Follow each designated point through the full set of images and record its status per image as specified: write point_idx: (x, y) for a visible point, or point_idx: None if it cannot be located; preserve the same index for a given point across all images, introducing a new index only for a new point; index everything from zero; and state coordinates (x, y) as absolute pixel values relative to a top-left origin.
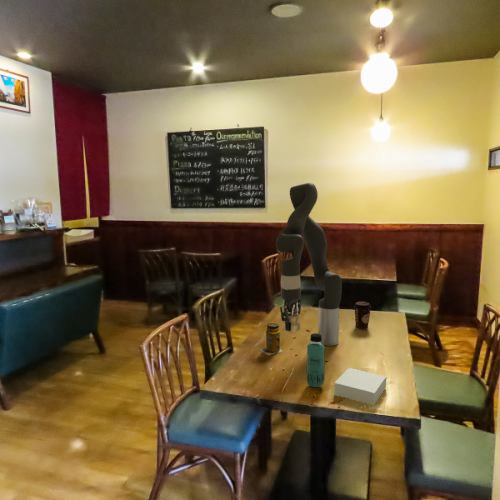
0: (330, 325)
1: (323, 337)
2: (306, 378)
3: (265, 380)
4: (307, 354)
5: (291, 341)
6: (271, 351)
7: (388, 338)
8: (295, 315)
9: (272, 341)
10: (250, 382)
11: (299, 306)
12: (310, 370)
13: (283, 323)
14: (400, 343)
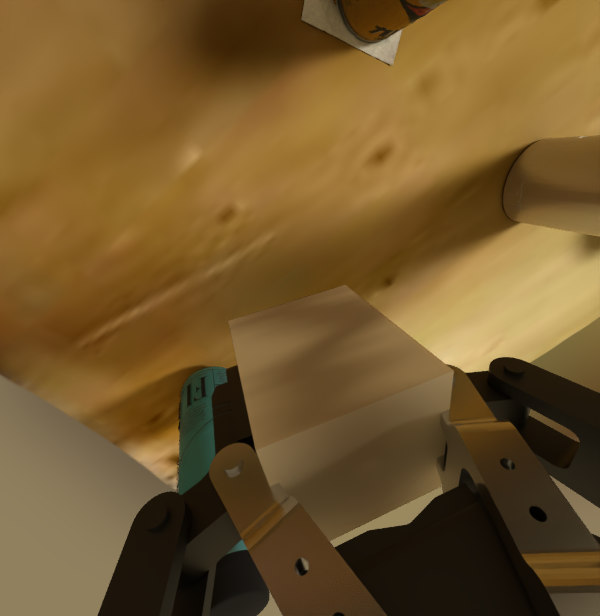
0: (598, 224)
1: (535, 187)
2: (195, 377)
3: (74, 229)
4: (185, 480)
5: (506, 16)
6: (343, 6)
7: (585, 299)
8: (382, 500)
9: None
10: None
11: (592, 498)
12: (179, 441)
13: (240, 377)
14: (559, 336)
